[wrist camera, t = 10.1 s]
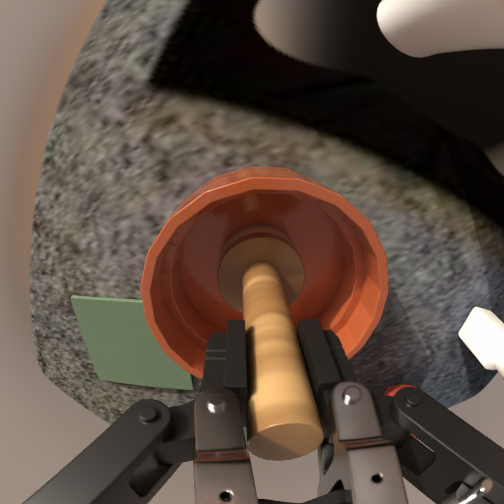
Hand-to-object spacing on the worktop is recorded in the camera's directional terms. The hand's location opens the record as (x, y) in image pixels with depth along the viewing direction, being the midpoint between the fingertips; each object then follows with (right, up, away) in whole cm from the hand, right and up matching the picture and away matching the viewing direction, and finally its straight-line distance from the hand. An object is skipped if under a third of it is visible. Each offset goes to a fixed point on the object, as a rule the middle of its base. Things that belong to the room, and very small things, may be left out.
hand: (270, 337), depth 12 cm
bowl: (0, +2, +9) cm, 10 cm away
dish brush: (0, +3, +8) cm, 9 cm away
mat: (-11, -5, +12) cm, 17 cm away
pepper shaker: (+24, -4, +13) cm, 28 cm away
